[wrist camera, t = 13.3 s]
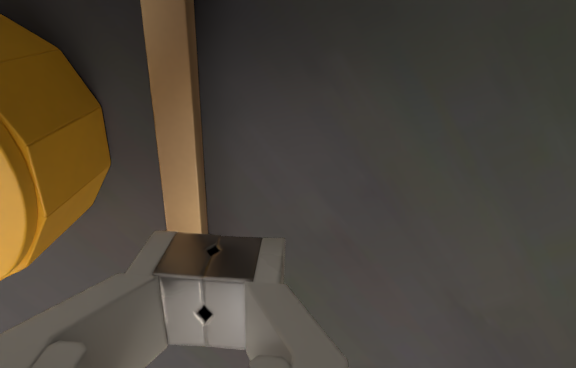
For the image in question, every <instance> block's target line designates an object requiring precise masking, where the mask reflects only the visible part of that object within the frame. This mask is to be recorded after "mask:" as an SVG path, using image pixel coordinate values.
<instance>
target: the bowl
mask: <svg viewBox="0 0 576 368" xmlns="http://www.w3.org/2000/svg"><path fill="white" fill-rule="evenodd" d="M110 163H111V160H110V154H109V148H108V143H107V137H106V131H105V125H104V120H103V114H102V108H101V107H100V104H99V103H98V101H97V100H96V99H95V97H94V96H93V95H92V93H91V92H90V90H89V89H88V88H87V86H86V85H85V84H84V82H83V81H82V79H81V78H80V77H79V75H78V74H77V72H76V71H75V70H74V68H73V67H72V66H71V64H70V63H69V61H68V60H67V59H66V57H65V56H64V55H63V53H62V52H61V51H60V50H59V48H57V47H55V46H54V45H52V44H50V43H49V42H47V41H45V40H44V39H42V38H40V37H39V36H37V35H35V34H34V33H32V32H30V31H29V30H27V29H25V28H23V27H22V26H20V25H18V24H17V23H15V22H13V21H12V20H10V19H8V18H7V17H5V16H3V15H2V14H0V281H1V280H2V279H3V278H6V277H8V276H10V275H12V274H14V273H16V272H18V271H20V270H22V269H24V268H26V267H28V266H29V265H30V264H31V263H32V262H33V261H34V260H35V259H36V258H37V257H38V256H39V255H40V254H41V253H42V252H43V251H44V250H45V249H46V248H48V247H49V246H50V245H51V244H52V243H53V242H54V241H55V240H56V239H57V238H58V237H59V236H60V235H61V234H62V233H63V232H64V231H65V230H66V229H68V228H69V227H70V226H71V225H72V224H73V223H74V222H75V221H76V220H77V219H78V218H79V217H80V216H81V215H82V214H83V213H84V212H85V211H86V210H87V209H89V208H90V207H91V206H92V204H93V202H94V200H95V198H96V196H97V194H98V191H99V189H100V187H101V185H102V183H103V180H104V178H105V176H106V174H107V172H108V169H109V167H110V165H111V164H110Z"/></svg>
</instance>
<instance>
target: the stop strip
mask: <svg viewBox="0 0 576 368" xmlns="http://www.w3.org/2000/svg"><path fill="white" fill-rule="evenodd" d="M140 3H141V11H142V20H143V28H144V37H145V46H146V54H147V63H148V71H149V80H150V89H151V97H152V106H153V114H154V123H155V132H156V140H157V149H158V157H159V166H160V175H161V183H162V192H163V200H164V209H165V217H166V226H167V231H176V232H187V233H199V234H208V224H207V208H206V192H205V176H204V160H203V143H202V127H201V111H200V95H199V79H198V63H197V47H196V31H195V15H194V0H140Z"/></svg>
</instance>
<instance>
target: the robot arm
mask: <svg viewBox="0 0 576 368" xmlns="http://www.w3.org/2000/svg"><path fill="white" fill-rule="evenodd" d="M284 267H285V238H266V237H264V238H258V237H234V236H221V235H211V234H199V233H187V232H176V231H155V232H153V233H152V235H151V236H150V237H149V239H148V240H147V242H146V243H145V245H144V246H143V248H142V249H141V251H140V252H139V254H138V255H137V257H136V258H135V259H134V261H133V262H132V264H131V265H130V267H129V268H128V270H127V271H126V273H117V274H116V275H114V276H112V277H110V278H108V279H106V280H104V281H102V282H100V283H98V284H96V285H94V286H92V287H90V288H88V289H86V290H85V291H83V292H81V293H79V294H77V295H75V296H73V297H71V298H69V299H67V300H65V301H63V302H61V303H59V304H57V305H55V306H54V307H52V308H50V309H48V310H46V311H44V312H42V313H40V314H38V315H36V316H34V317H32V318H30V319H28V320H26V321H24V322H22V323H21V324H19V325H17V326H15V327H13V328H11V329H9V330H7V331H5V332H3V333H1V334H0V368H145V367H146V366H147V365H148V364H149V363H151V362H152V361H153V360H154V359H155V358H156V357H157V356H158V355H159V354H160V353H161V352H163V351H164V350H165V349H166V348H167V347H168V345H190V346H209V347H219V348H229V349H239V350H246V353H247V355H248V357H249V359H250V364H249V368H349V367H348V360H347V358H346V357H345V356H344V355H343V354H342V352H341V351H340V350H339V349H338V347H337V346H336V345H335V344H334V342H333V341H332V340H331V339H330V337H329V336H328V335H327V334H326V332H325V331H324V330H323V329H322V328H321V326H320V325H319V324H318V323H317V321H316V320H315V319H314V318H313V316H312V315H311V314H310V313H309V311H308V310H307V309H306V308H305V306H304V305H303V304H302V303H301V302H300V300H299V299H298V298H297V297H296V295H295V294H294V293H293V292H292V290H291V289H290V288H289V287H288V285H286V284H284ZM167 344H168V345H167Z"/></svg>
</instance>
